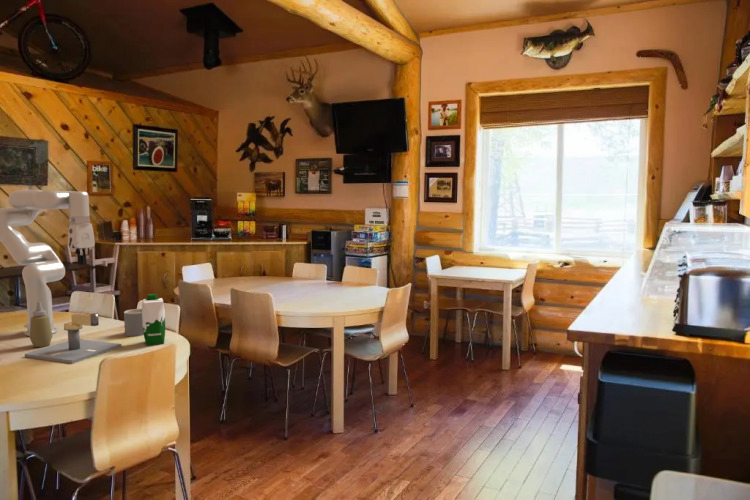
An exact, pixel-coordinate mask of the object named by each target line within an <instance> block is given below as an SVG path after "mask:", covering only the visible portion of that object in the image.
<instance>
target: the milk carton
mask: <svg viewBox="0 0 750 500" xmlns="http://www.w3.org/2000/svg"><path fill="white" fill-rule="evenodd" d="M146 296H147V297H146V298H144V299H142V302H141V309H142V321H143V334H144V335H143V338H144V343H145V345H146V346H153V345H162V344H163V345H164V344H165V338H166V313H165V312H166V311H165V303H164V300H163V298H162V297H160V298H159V297H158V293H148V294H147V295H146Z"/></svg>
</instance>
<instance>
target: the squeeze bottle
mask: <svg viewBox="0 0 750 500" xmlns="http://www.w3.org/2000/svg"><path fill="white" fill-rule="evenodd" d="M52 338H53V334H52V331H51V325H50V320H49V316H47V315H46V310H43V308H42V305H41V302H37V307H36V311H34V312H33V317H32V318H31V322H30V336H29V340H30V342H31V345H32V346H33V348H42V347H43V348H45V347H49V346H51V345H50V344H51V342H52Z"/></svg>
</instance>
